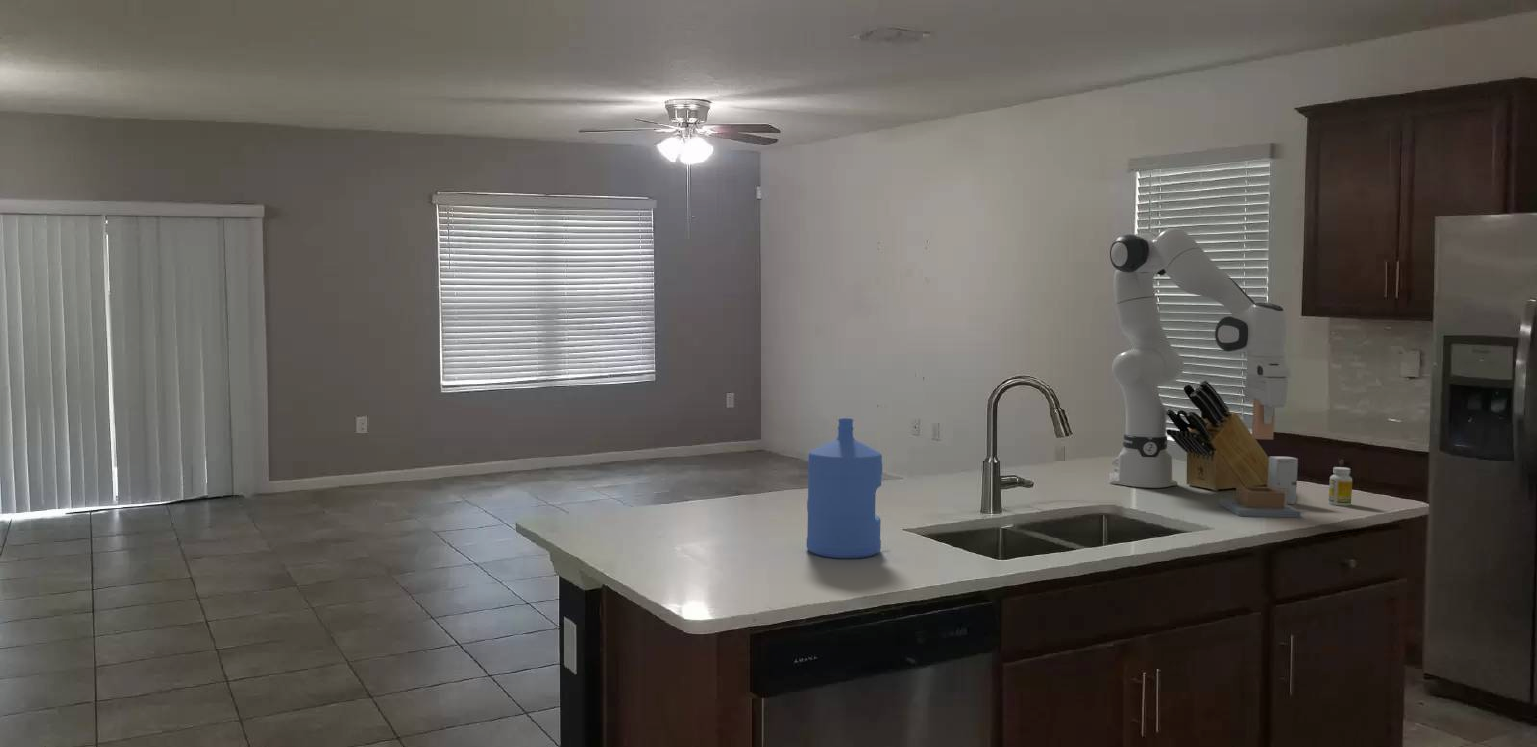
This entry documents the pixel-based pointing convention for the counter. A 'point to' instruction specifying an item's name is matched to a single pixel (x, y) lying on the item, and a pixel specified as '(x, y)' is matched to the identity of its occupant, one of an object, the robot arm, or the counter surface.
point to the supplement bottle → (1340, 487)
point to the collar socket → (1259, 503)
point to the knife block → (1217, 444)
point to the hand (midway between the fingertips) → (1263, 422)
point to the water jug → (843, 497)
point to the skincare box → (1283, 476)
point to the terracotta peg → (1258, 427)
